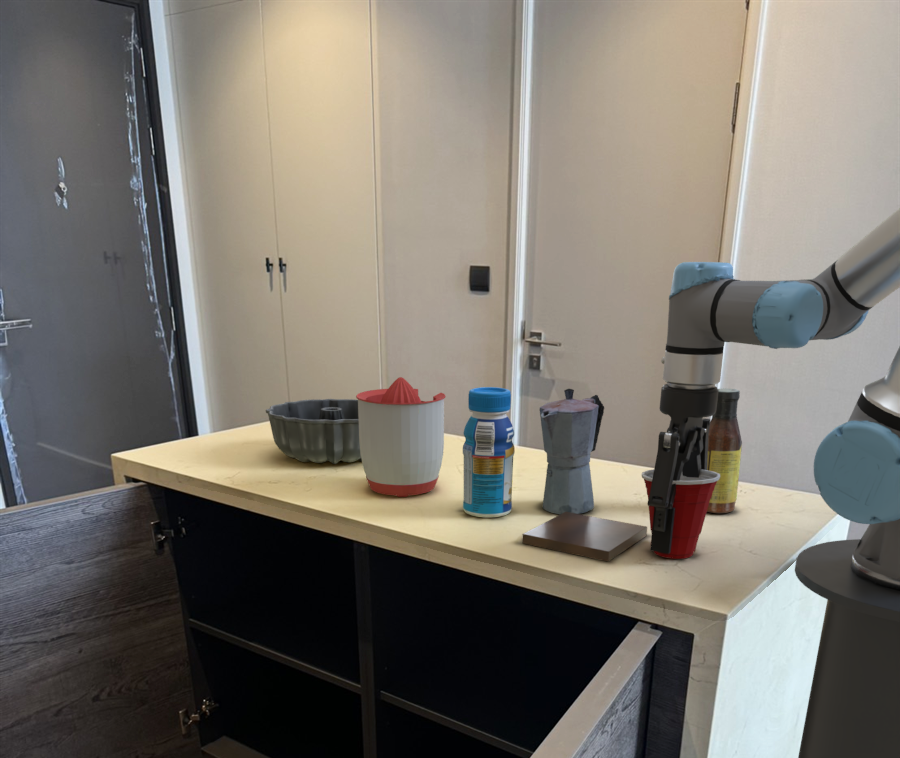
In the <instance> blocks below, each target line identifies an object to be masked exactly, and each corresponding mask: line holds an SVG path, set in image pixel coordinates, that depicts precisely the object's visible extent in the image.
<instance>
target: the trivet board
mask: <svg viewBox="0 0 900 758" xmlns="http://www.w3.org/2000/svg"><path fill="white" fill-rule="evenodd" d="M647 535H648V526H646V525H641V524H635V523H631V522H630V523H629V522H625V521H620V520H614V519H607V518H602V517H597V516H592V515H586V514H582V513H580V514H576V513H570V512H564V513H562V514H557V515H556V516H554V517H553V518H551V519H549V520H546V521H545V522H543V523H541V524H539V525H537V526H535V527H534V528H531V529H529V530H527V531H526V532H523V533H522V541H521V543H522V544H524V545H528V546H534V547H538V548H543V549H548V550H553V551H557V552H561V553H566V554H572V555H576V556H581V557H585V558H589V559H595V560H599V561H604V562H610V561H611V560H612V559H614V558H615V557H617V556H618V555H620V554H622V553H623V552H625V551H626V550H627V549H629V548H631V547H632V546H633V545H635V544H636V543H638V542H639V541H641V540H643V539H644V538H645V537H647Z"/></svg>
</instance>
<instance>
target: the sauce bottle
mask: <svg viewBox="0 0 900 758" xmlns="http://www.w3.org/2000/svg"><path fill="white" fill-rule="evenodd" d="M717 389H718V390H719V391H718V400H717V408H716V413H715V414H714V415H712V416H711V419H710V428H709V434H708V462H707V470H708V471H714V472H716V473H719V474H720V479H719V480H718V481H717V483H716V485H715V488H714V491H713V493H712V497H711V499H710V502H709V506H708V509H707V513H712V514H728V513H731V512H733V511H734V510H735V507H736V502H737V497H738V491H739V490H738V488H739V479H740V467H741V459H742V458H741V457H742V448H743V447H742V446H743V441H742V436H741V431H740V426H739V425H740V424H739V421H738V420H739V419H738V414H737V413H738V401H739V399H740V393H741V392H740V390H739V389H736V388H724V387H723V388H717Z"/></svg>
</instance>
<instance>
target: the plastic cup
mask: <svg viewBox="0 0 900 758" xmlns="http://www.w3.org/2000/svg"><path fill="white" fill-rule="evenodd" d="M653 473H654V469H648V470H644V471H642V472H641V478H642V479H643V481H644V484H645V488H646V495H647V501H648V500H649V495H650V490H651V484H652V479H653ZM719 479H720V474H719V473H716V472H714V471H708V470H703V469H701V470H700V475H699V478H694V477H686V476H683V474H682V473H681V477H680V480H679V481H673V482H672V484H675V483H676V495H675V499H674V502H673V507H674V508H675V515H674V524H673V533H672V543H671V552H670V553H669V554H666V553H661V552H656V551H652V552H653V553H654V554H655V555H656V556H659V557H661V558H666V559H674V560H681V559H688V558H691V557H692V556H693V555H694V552H695V551H696V548H697V546H698V545H697V544H698V542H699V538H700V535H701V533H702V530H703V526H704V523H705V519H706V515H707V513H708V512H707V509H708V506H709V502H710V499H711V497H712V493H713V491H714V488H715V485H716V483H717V481H718V480H719ZM661 498H662V497H661ZM648 514H649V526H650V532H651V534H652V526H653V516H654V507H653V506H648Z"/></svg>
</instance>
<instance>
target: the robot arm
mask: <svg viewBox="0 0 900 758" xmlns="http://www.w3.org/2000/svg"><path fill="white" fill-rule="evenodd" d="M898 289H900V207H899V208H898V209H896V210H895V212H893V213H892V214H891V215H889V216H888V217H887V218H886V219H885V220H883V221H882V222H881V223H880V224H878V225H877V226H876V227H875V228H874V229H872V230H871V231H870V232H868V234H866V235H865V236H864V237H863V238H862V239H860V240H859V241H858V242H857V243H856V244H854V245H853V246H852V247H851V248H849V249H848V250H847V251H846V252H845V253H843V254H842V255H841V256H840V257H838V258H837V259H836V261H834V262H833V263H832V264H831V265H829V266H828V267H827V268H825V269H824V270H823V271H822V272H820V273H819V274H818V275H817V276H815V277H813V278H811V279H792V280H791V279H790V280H789V279H787V280H740V279H736V278H734V267H733V265H732V264H731V263H730V262H722V261H721V262H720V261H684V262H681V263H678V264H677V265H676V266H675V268H674V270H673V274H672V282H671V287H670V293H669V296H668V315H667V316H668V318H667V334H666V335H667V336H666V343H665V349H664V350H665V351H664V356H662V357H661V360H660V362H661V364H663V372H662V381H664V382H665V383H664V384H663V385H662V387H661V388H660V401H659V411H660V413H662V414H663V415H665V416H668V417H670V420H669V426H668V427H667V429H666V431H660V432H659V434H658V443H657V452H656V458H655V463H654V473H653V479H652V484H651V490H650V495H649V500H648V499H647V506H648V507H649V506H653V507H654V516H653V526H652V533H651V538H650V547H649V551H652V552H653V551H656V552H661V553H666V554H669V553H670V552H671V543H672V533H673V524H674V515H675V508H674V507H673V502H674V499H675V495H676V483H675V484H672V482H673V481H679V480H680V477H681V473H682V474H683V476H686V477H694V478H699V475H700V470H701V469H703V470H707V462H708V434H709V428H710V421H711V419H710V418H709V417H712V415H714V414H715V413H716V408H717V400H718V391H719V390H718V389H719V388H718V386H716V385H718V384H719V383H720V382H721V378H722V377H721V376H722V368H723V360H724V359H723V358H724V349H725V348H724V347H725V343H734V344H735V343H736V344H746V345H751V346H760V347H761V346H762V347H768V348H769V349H776V350H778V349H800V348H804V347H805V346H806V345H808V344H809V341H819V340H825V341H829V340H835V339H839V338H842V337H843V336H846V335H849V334H852V333H853V332H854V331H856V330H858V328H860V327H861V326H862V325H863V322H864V321H865V319H866V317H867V316H868V314H869V310H871V309H873V308H874V307H875V306H877V305H878V304H879V303H880V302H882V301H883V300H885V299H886V298H887V297H888V296H890V295H891V294H893V293H894V292H895V291H898ZM813 478H814V482H815V485H816V486H817V487H818V488H817V489H818V490H819V495H820V497H821V498H822V500H823V502H824V503H825V504H826V505H827V506H828V507H829V508H830V509H831V510H832V511H833V512H834V513H836V514H837V515H839V516H840V517H841V518H843V519H845V520H847V521H850V522H853V523H855V524H856V523H857V524H861V525H868V526H867V528H866V530H865V532H864V533H863V535H862V536H861V538H860V539H861V540H860V542H859V543H858V545H857V547H856V548H855V551H854V553H853V556H852V561H851V569H852V571H853V572H854V573H855V574H856V575H858V576H859V577H861V578H862V579H864V580H866V581H868V582H871V583H873V584H876V585H878V586H881V587H884V588H888V589H891V590H895V591H900V346H899V347H898V349H897V350H896V353H895V355H894V358H893V359H892V362H891V364H890V365H889V367H888V369H887V372H886V374H885V375H884V376H883V377H882V378H879V379H877V380H875V381H872V382H870V383H868V384H865V386H864V387H863V388H862V391H861V393H860V394H859V396H858V399H857V400H856V402H855V405H854V408H853V410H852V412H851V414H850V416H849V418H848V421H847V422H844V423H842V424H839V425H838V426H835V428H833V429H832V430H831V431H830V432H829V433H827V435H825V437H823V439H822V440H821V442H820V443H819V445H818V446H817V449H816V452H815V454H814V460H813ZM661 497H662V498H661Z"/></svg>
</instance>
